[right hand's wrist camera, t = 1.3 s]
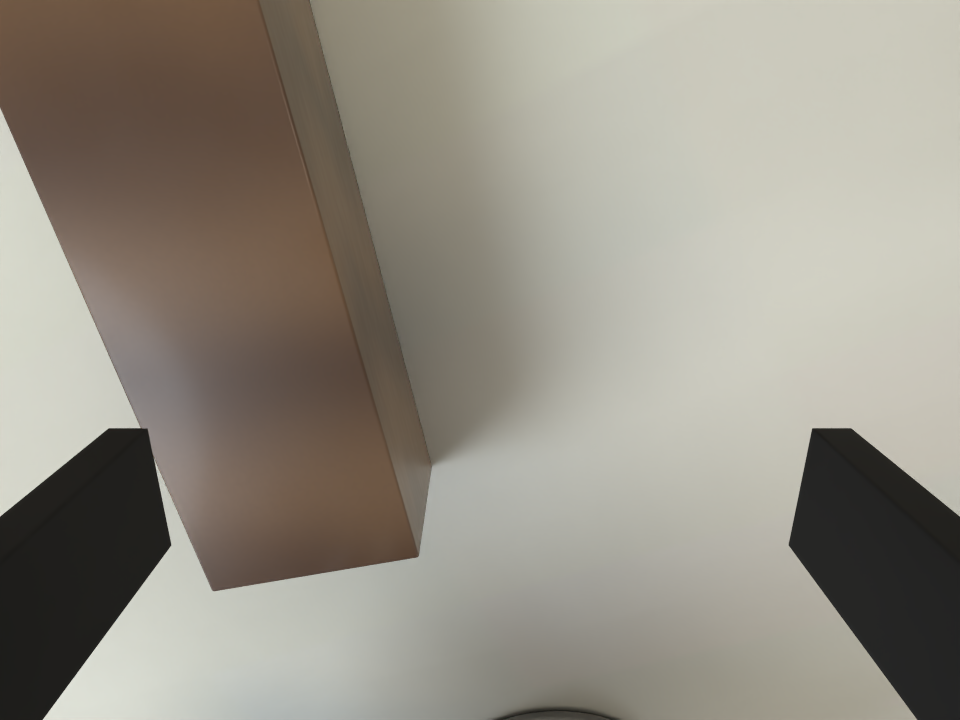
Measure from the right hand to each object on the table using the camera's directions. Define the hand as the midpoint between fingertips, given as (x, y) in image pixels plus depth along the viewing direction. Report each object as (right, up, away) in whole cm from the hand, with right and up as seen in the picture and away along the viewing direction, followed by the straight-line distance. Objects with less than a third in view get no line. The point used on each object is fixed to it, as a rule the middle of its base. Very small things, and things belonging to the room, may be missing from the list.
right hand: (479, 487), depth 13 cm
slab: (-12, +21, +9) cm, 26 cm away
